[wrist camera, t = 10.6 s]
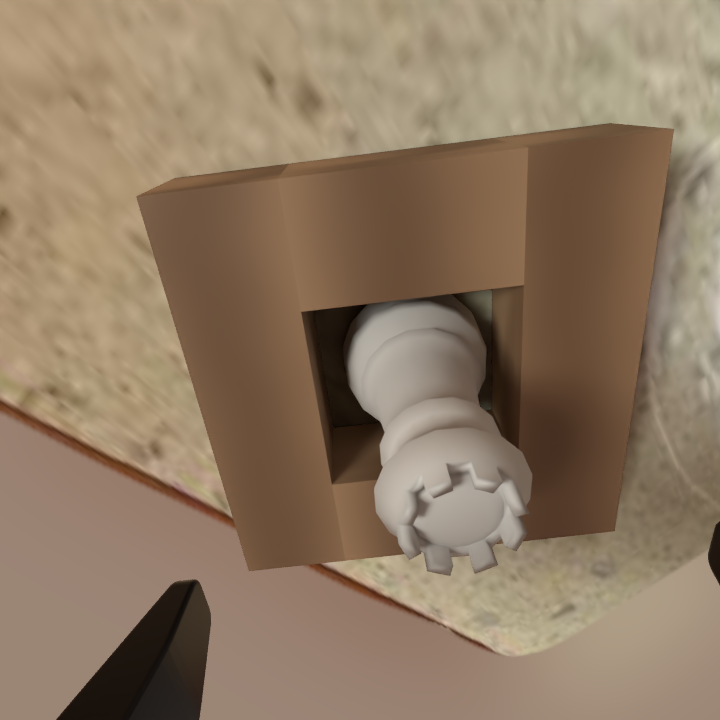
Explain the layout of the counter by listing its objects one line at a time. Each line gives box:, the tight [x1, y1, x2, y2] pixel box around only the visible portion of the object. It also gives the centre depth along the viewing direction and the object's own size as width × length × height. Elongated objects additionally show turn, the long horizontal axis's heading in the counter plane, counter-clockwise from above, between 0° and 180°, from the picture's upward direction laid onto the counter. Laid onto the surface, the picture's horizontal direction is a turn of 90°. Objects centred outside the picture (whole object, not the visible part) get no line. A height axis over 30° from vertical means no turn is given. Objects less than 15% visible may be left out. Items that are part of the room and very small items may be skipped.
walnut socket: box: [137, 123, 674, 571], centre depth 16 cm, size 12×12×3 cm
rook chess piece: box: [343, 294, 532, 576], centre depth 13 cm, size 4×4×8 cm
